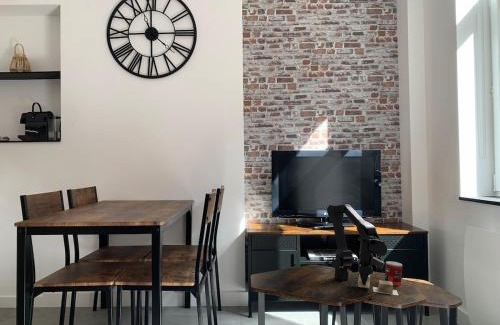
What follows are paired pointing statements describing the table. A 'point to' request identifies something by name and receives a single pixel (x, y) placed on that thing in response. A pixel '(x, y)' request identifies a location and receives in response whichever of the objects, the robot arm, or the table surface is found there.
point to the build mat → (383, 292)
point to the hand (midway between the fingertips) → (364, 283)
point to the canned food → (393, 272)
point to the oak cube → (366, 282)
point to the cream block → (385, 286)
